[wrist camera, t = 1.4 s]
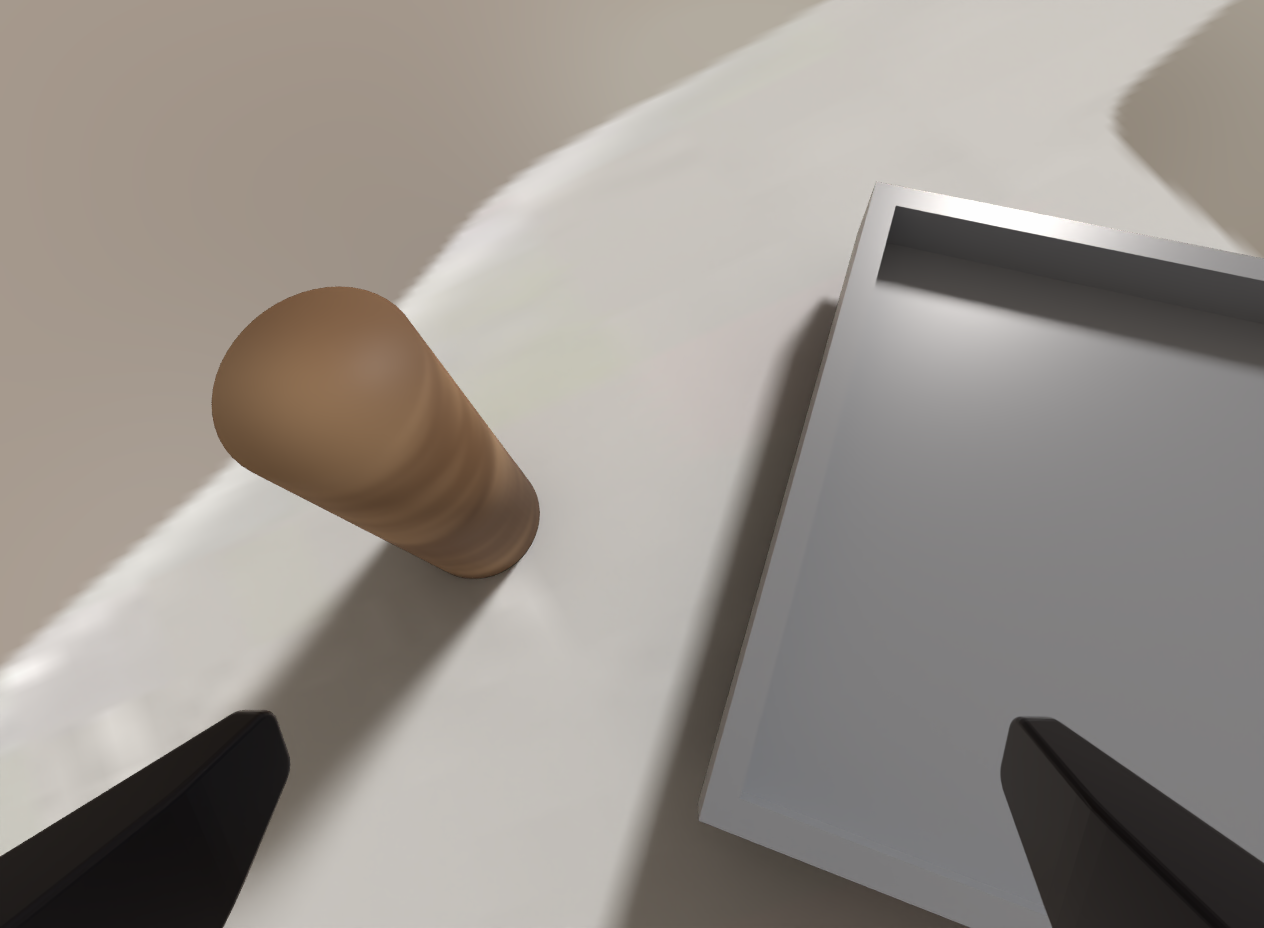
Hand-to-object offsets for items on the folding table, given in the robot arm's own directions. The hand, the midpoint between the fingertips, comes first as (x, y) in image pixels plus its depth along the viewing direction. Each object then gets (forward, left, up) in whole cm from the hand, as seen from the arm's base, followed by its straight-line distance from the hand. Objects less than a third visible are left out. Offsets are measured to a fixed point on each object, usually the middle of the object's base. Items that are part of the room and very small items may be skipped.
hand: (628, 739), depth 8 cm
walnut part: (+4, +8, -14) cm, 17 cm away
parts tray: (+8, -12, -14) cm, 20 cm away
